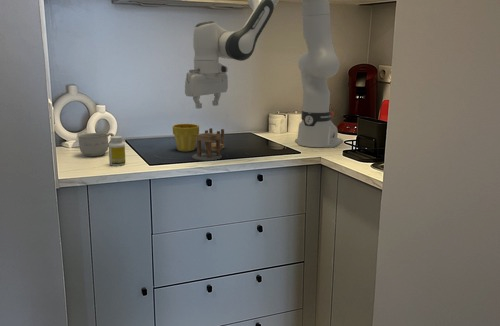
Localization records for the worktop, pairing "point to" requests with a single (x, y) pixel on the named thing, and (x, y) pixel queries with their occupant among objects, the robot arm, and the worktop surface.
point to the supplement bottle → (116, 151)
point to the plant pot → (186, 136)
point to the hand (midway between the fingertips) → (207, 106)
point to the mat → (206, 157)
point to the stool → (208, 143)
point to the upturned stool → (213, 145)
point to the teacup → (94, 143)
